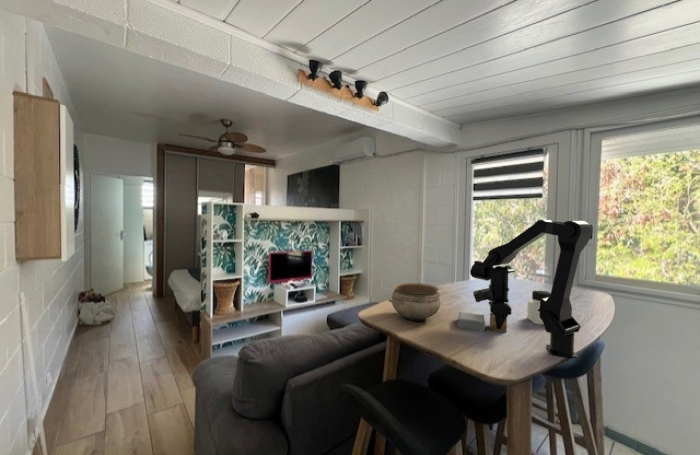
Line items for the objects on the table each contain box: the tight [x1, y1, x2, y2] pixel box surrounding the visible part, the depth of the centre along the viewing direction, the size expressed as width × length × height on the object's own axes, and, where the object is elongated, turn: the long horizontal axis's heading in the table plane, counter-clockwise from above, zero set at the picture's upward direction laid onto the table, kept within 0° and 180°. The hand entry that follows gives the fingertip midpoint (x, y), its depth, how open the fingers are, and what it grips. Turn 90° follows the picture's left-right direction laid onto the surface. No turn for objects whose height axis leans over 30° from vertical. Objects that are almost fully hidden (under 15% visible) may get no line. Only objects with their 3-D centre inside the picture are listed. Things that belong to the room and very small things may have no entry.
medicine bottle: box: [526, 289, 551, 326], centre depth 112 cm, size 7×7×12 cm
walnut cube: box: [489, 312, 508, 333], centre depth 104 cm, size 5×5×5 cm
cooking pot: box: [388, 282, 441, 322], centre depth 115 cm, size 25×19×12 cm
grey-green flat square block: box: [457, 311, 486, 332], centre depth 108 cm, size 9×9×3 cm
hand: (498, 326), depth 104 cm, fingers open, 5 cm apart
